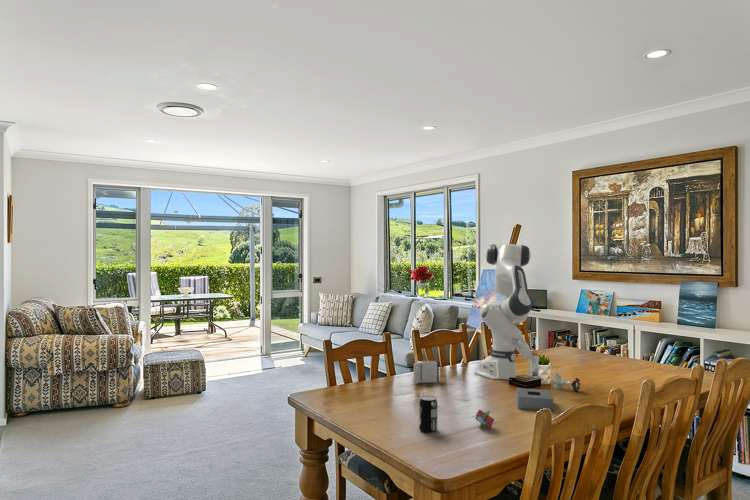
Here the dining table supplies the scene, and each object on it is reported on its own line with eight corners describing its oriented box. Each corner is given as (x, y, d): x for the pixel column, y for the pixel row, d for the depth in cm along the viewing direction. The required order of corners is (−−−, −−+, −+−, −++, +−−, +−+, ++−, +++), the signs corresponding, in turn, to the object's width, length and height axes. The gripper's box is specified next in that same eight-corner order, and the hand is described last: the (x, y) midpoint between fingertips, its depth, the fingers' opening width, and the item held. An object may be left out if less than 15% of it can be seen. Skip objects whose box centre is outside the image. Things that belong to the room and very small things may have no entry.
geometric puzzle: (502, 423, 187) (490, 403, 190) (493, 427, 182) (481, 407, 185) (488, 431, 191) (477, 411, 194) (478, 435, 185) (467, 415, 189)
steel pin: (528, 375, 216) (528, 350, 217) (532, 374, 219) (532, 349, 219) (535, 377, 214) (535, 351, 214) (540, 376, 216) (540, 350, 216)
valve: (550, 388, 243) (574, 393, 235) (550, 374, 243) (574, 379, 235) (556, 386, 248) (580, 390, 240) (556, 372, 248) (580, 377, 240)
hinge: (414, 384, 249) (414, 363, 249) (410, 381, 254) (410, 361, 254) (440, 382, 253) (440, 362, 253) (435, 379, 258) (435, 360, 258)
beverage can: (417, 427, 188) (418, 395, 188) (435, 427, 188) (435, 394, 188) (420, 433, 181) (421, 400, 181) (438, 433, 182) (439, 400, 182)
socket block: (518, 408, 211) (518, 396, 211) (515, 399, 225) (516, 388, 225) (553, 411, 208) (553, 399, 208) (548, 401, 222) (549, 390, 222)
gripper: (519, 335, 208) (544, 360, 206) (516, 328, 228) (538, 351, 226) (508, 346, 209) (532, 371, 207) (505, 337, 229) (528, 360, 227)
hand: (535, 360), depth 216 cm, fingers closed on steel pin, 4 cm apart
